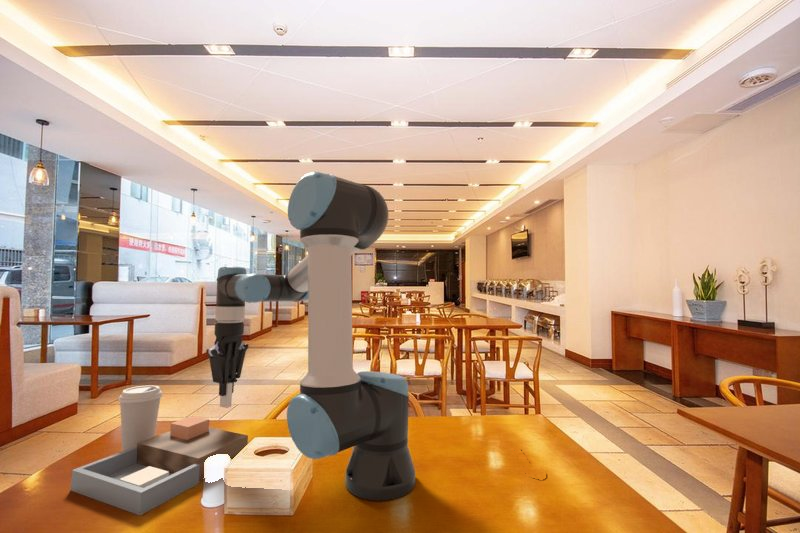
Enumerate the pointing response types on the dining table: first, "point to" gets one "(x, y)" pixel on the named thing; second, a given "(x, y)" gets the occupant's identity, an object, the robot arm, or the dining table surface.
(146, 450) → the dark brown wooden slab
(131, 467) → the box
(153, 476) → the cream tile
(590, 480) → the dining table surface
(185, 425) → the terracotta tile
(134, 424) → the coffee cup
